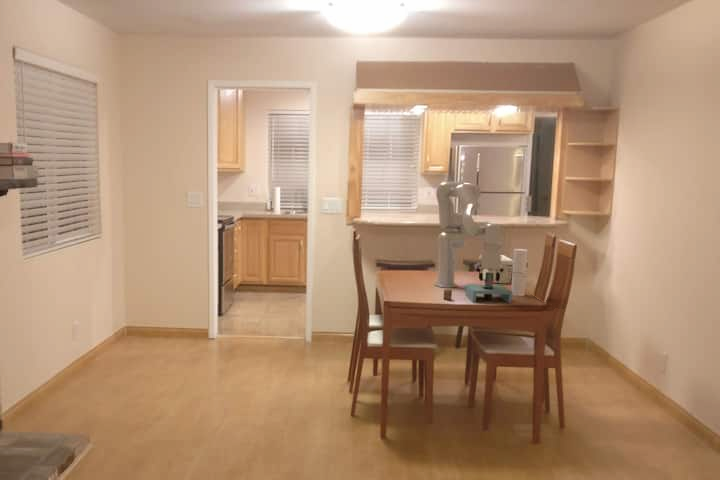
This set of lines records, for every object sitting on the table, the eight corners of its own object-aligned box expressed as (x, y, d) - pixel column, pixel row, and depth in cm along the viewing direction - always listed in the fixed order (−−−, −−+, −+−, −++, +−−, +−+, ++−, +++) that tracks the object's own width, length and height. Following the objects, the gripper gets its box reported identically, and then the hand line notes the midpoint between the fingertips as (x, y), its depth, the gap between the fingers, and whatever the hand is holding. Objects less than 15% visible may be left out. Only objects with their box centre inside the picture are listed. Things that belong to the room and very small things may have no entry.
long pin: (483, 298, 295) (484, 272, 294) (490, 298, 296) (492, 272, 294) (485, 300, 291) (486, 273, 290) (492, 300, 292) (494, 273, 290)
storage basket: (477, 276, 361) (478, 253, 359) (502, 277, 361) (504, 254, 359) (486, 283, 337) (487, 259, 335) (512, 284, 337) (514, 260, 335)
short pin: (442, 298, 292) (443, 289, 291) (450, 298, 292) (450, 289, 291) (444, 300, 288) (444, 290, 287) (452, 300, 288) (452, 290, 287)
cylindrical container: (509, 293, 311) (512, 248, 308) (521, 293, 311) (524, 248, 308) (513, 296, 304) (516, 250, 301) (526, 296, 304) (529, 250, 301)
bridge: (465, 295, 301) (466, 284, 300) (502, 296, 302) (503, 285, 301) (472, 302, 285) (473, 290, 284) (511, 303, 286) (512, 291, 285)
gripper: (505, 246, 294) (503, 279, 297) (472, 245, 294) (470, 278, 296) (510, 248, 287) (507, 282, 289) (476, 247, 286) (474, 281, 288)
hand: (489, 280), depth 292 cm, fingers open, 8 cm apart
